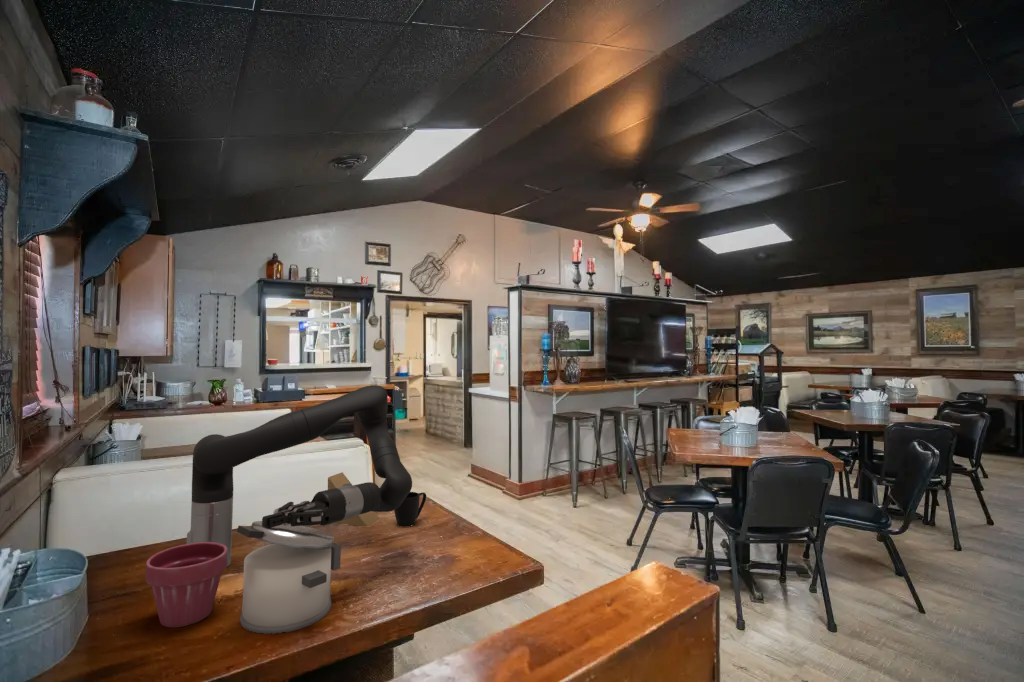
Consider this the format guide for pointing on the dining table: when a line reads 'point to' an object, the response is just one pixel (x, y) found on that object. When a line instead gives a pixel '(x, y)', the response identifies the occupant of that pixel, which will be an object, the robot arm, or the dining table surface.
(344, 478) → the sandwich container
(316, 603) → the oval food canister
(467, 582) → the dining table surface
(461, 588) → the dining table surface
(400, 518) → the mug
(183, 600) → the plant pot
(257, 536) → the lid
